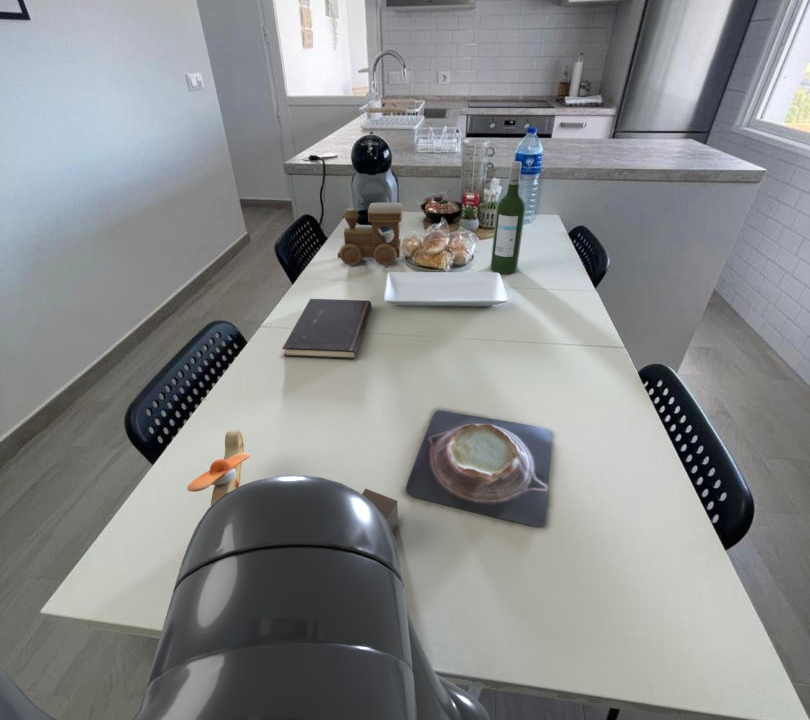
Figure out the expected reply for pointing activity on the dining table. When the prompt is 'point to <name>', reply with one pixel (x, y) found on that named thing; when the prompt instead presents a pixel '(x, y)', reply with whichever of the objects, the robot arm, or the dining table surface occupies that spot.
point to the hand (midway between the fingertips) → (244, 514)
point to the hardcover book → (328, 329)
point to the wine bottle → (508, 226)
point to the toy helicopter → (223, 469)
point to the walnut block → (384, 506)
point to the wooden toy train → (372, 235)
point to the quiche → (484, 467)
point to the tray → (444, 289)
